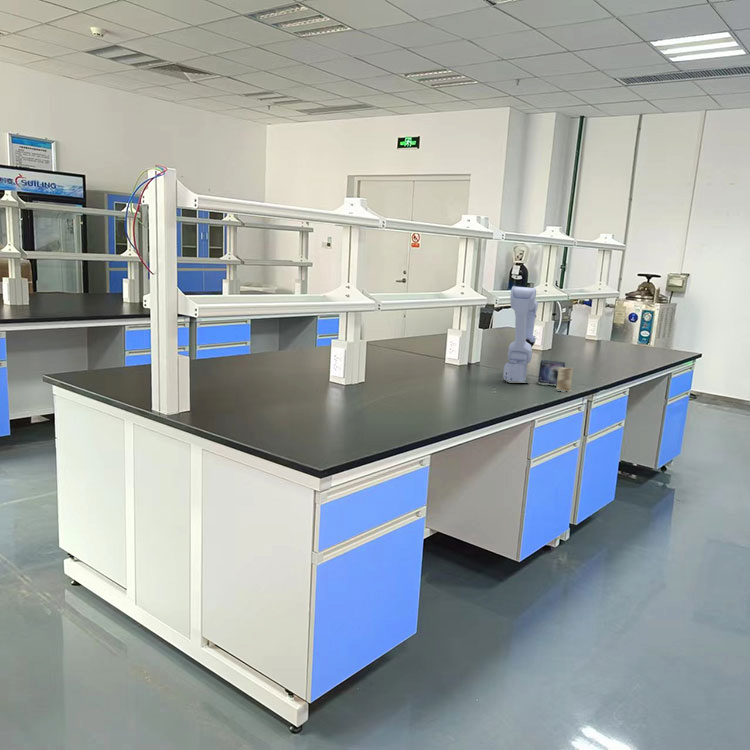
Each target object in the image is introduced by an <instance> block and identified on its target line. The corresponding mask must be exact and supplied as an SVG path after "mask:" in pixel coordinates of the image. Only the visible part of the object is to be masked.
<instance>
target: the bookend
mask: <svg viewBox="0 0 750 750" xmlns="http://www.w3.org/2000/svg"><path fill="white" fill-rule="evenodd" d="M573 373H574V368H573V367H565V368H559V370H558V378H557V386H556V387H555V390H556V389H562V390H565V391H572V392H573V390H572V389H571V388H572V381H573V380H572V379H573Z"/></svg>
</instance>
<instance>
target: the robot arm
mask: <svg viewBox="0 0 750 750" xmlns="http://www.w3.org/2000/svg"><path fill="white" fill-rule="evenodd" d="M536 296H537V289H536V288H535V287H525V286H516V285H512V287H511V290H510V297H509V299H510V303H509V304H510V308H511V309H513V311H514V315H515V316H514V318H515V322H514V324H515V326H514V327H515V330H514V335H515V336H514V339H515V340H514V341H512V342H510V344H509V346H508V351H507V359H508V361H509V362H505V364H504V367H503V373H502V374H503V375H502V376H503V377H502V379H503V378H504V379H506V380H508V381H519V382H524V381H526V378H527V371H528V370H527V369H528V364H530V363H531V362H532V358H533V357H532V356H533V349H532V348H533V347H534V345H535V343H536V336H535V335H534V331H535V322H536V320H535V319H536V316H537V312H538V311H537V310H538V307H539V303H538V301H536V298H537V297H536ZM526 382H527V381H526Z"/></svg>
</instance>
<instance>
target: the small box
mask: <svg viewBox="0 0 750 750" xmlns="http://www.w3.org/2000/svg"><path fill="white" fill-rule="evenodd" d="M559 368H566V362H563V361H557V360H556V361H555V360H549V359H547V360H546V359H541V360H540V364H539V373H538V374H539V375H538V381H537V383H538V382H540V383H549V384H556V385H557V378H558V370H559Z"/></svg>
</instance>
